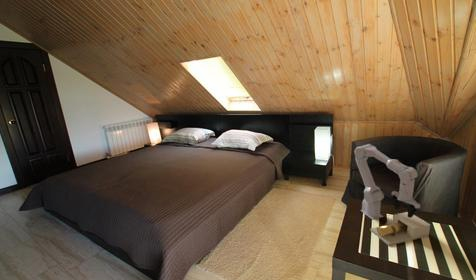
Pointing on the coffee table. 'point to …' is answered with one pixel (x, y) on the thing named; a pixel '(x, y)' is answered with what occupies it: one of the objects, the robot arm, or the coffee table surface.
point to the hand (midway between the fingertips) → (403, 212)
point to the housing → (414, 230)
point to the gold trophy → (391, 229)
